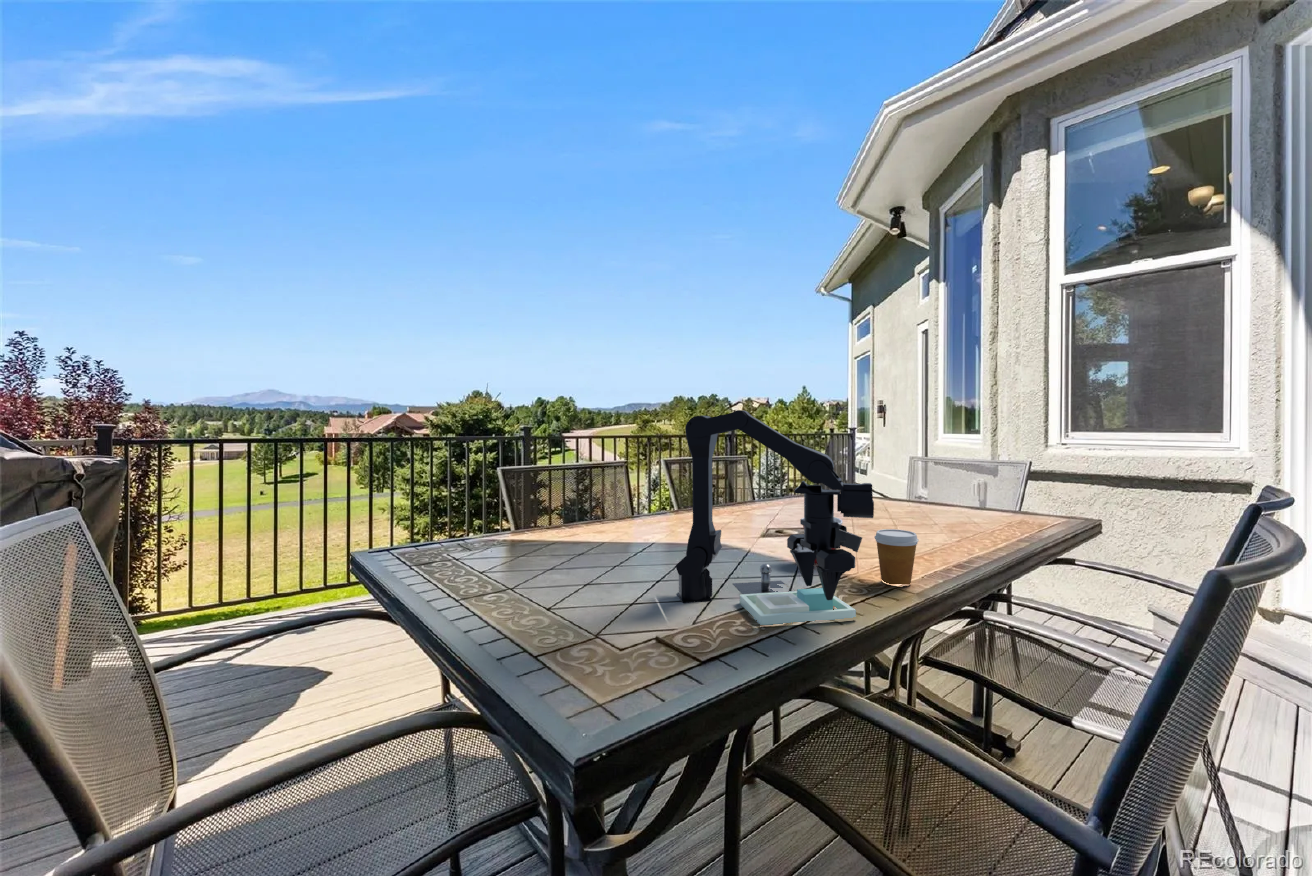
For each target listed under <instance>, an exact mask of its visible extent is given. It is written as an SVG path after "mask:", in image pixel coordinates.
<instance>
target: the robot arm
mask: <svg viewBox="0 0 1312 876" xmlns="http://www.w3.org/2000/svg"><path fill="white" fill-rule="evenodd" d="M684 430H685V431H684V432H685V437H686V443H687V448H688V450H689V452H690V455H691V459H692V465H691V466H692V467H691V468H692V474H691V475H692V476H691V477H692V478H691V479H692V525H691V529H690V532H689V536H688V538H687V539H688V541H687V546H686V551H685V552H686V553H685V556H684V557H683V558H682V559H681V560H680V561H679V562H677V563H676V565H675V568H676V571H677V575H678V592H677V593H676V595H677V596H678V598H679V600H680V602H681V603H683V604H692V603H693V604H694V603H707V602H712V601H713V599H712V597H713V578H712V577H711V576H710V575H711V574H710V573H711V572H710V570H709V569H708V568H709V566H710V565H711V563H712V562H713V561H714V560H715V559H716V558H717V556H718V554H719V553H720V551H721V549H722V548H723V546H722V544H721V537H722V530H721V529H716V528H715V526H714V521H713V455H714V452H715V449H716V445H717V441H718V435H720V434H723V433H728V432H733V431H736V430H738V431H741V432H742V433H744V434H745V435H747V436H748V437H750V438H752V439H753V440H755V441H757V442H758V443H760V444H761V445H763V446H765V447H766V448H768V449H769V450H771V451H772V452H774V453H776V454H777V455H779V456H780V457H782V458H784V459H785V460H787V462H789V463H790V465H792V466H793V468H794V469H796V470H797V471H798V472H799V473H800V474H801V475H802V476H804V477H805V478H806V479H807V481H809V482H810V483H813V484H808V483H807V482H806V481H805V480H802V481H801V482H800V484H799V485H798V486H797V487H796V488H795V489H794V491H793V493H795V494H799V495H801V494H803V495H804V497H803V507H804V508H803V509H804V510H803V518H804V519H802V518H801V519H800V523H799V524H800V525H802V526H803V525H804V528H803V533H799V534H798V533H797V534H796V533H794V534H790V535H789V536H788V538H787V539H786V541H787V542H786V543H787V544H786V545H787V546H786V547H787V548H788V549H789V553H790V554H791V557H793V560H794V561H795V564H796V566H797V568H798V570H799V572H800V575H801V576H802V577H801V578H802V579H803V581H804V583H805V585H806V586H805V587H811V586H812V585H813V580H814V574H815V565H816V564H815V559H816V561H817V563H818V564H817V565H816V571H817V575H818V578H819V580H820V584H821V588H823V591H824V594H825V597H826V599H827V600H832V599H833V596H835V593H836V590H837V587H838V584H839V582H840V580H841V577H842V576H843V575H844V574H845V573H846V572H850V571H851V570H852V569H856V557H855V556H854V554H852V552H855V553H858V552H859V549H860V546H861V543H862V540H863V537H862V536H860V535H857V534H855V533H852V532H849V531H848V530H847V526H846V525H843V524H841V525H840V524H838V522H835V521H834V517H835V515H834V514H835V512H834V511H835V510H834V508H835V507H834V506H835V503H834V501H835V499H834V498H835V497H834V496H836V497H837V498H836V499H837V505H836V506H837V509H836V510H837V513H839V512H840V514H842V516H843V518H857V519H858V518H862V519H874V513H875V508H874V507H875V501H874V498H873V495H874V493H873V484H872V483H871V482H863V483H845V482H843V481H842V478H841V477H839V476H838V474H837V473H836V471H835V470H834V469H835V468H834V467H835V465H834V461H833V460H832V458H831V456H830V455H828V454H826V453H823V452H821V451H819V450H816V449H813V448H811V447H807V446H805V445H802V444H800V443H798V442H795V441H794V440H793V439H790V438H789V437H788V436H785V435H784V434H782V433H780V432H779V431H777V430H776V429H774V428H772V427H771V426H769V425H767V424H766V423H764V422H762V421H761V420H759V419H758V418H756V417H755V416H753V415H752V414H750V412H748V411H746V410H744V409H743V410H740V409H739V410H738V409H737V410H734V411H733V412H729V413H725V414H720V415H715V416H709V415H695V416H693V417H691V418H689V420H687V422H686V424H685V429H684ZM819 484H820V485H819ZM821 484H822V485H821ZM823 485H824V486H826V487H827V488H828V489H823ZM841 547H843V548H846V549H850V550H852V552H849V551H848V550H845V549H843V548H841ZM831 548H834V549H831Z"/></svg>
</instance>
